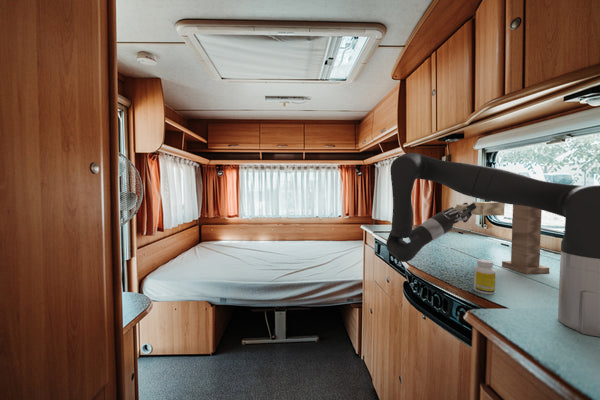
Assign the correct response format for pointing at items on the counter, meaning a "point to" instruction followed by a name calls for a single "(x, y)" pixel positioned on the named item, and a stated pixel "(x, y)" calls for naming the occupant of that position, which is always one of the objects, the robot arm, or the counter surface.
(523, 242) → the stand
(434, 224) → the robot arm
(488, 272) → the supplement bottle
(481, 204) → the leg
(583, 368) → the counter surface
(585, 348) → the counter surface
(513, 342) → the counter surface
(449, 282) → the counter surface
